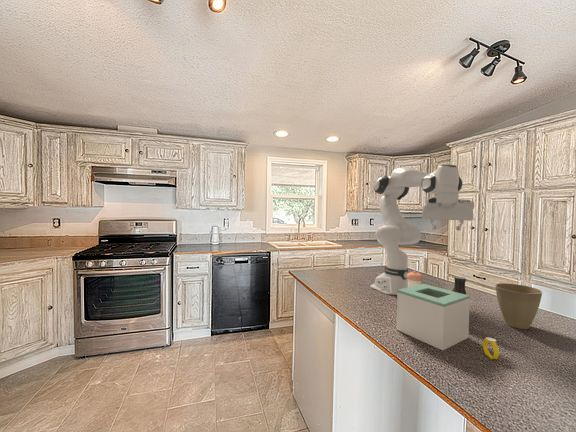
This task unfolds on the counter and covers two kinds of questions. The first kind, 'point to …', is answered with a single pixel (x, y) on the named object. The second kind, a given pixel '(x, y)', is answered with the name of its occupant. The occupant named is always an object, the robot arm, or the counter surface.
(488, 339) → the watch
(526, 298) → the plant pot
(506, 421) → the counter surface
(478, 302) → the counter surface
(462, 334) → the recycling bin
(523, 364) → the counter surface
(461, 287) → the sauce bottle
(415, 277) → the pepper shaker
